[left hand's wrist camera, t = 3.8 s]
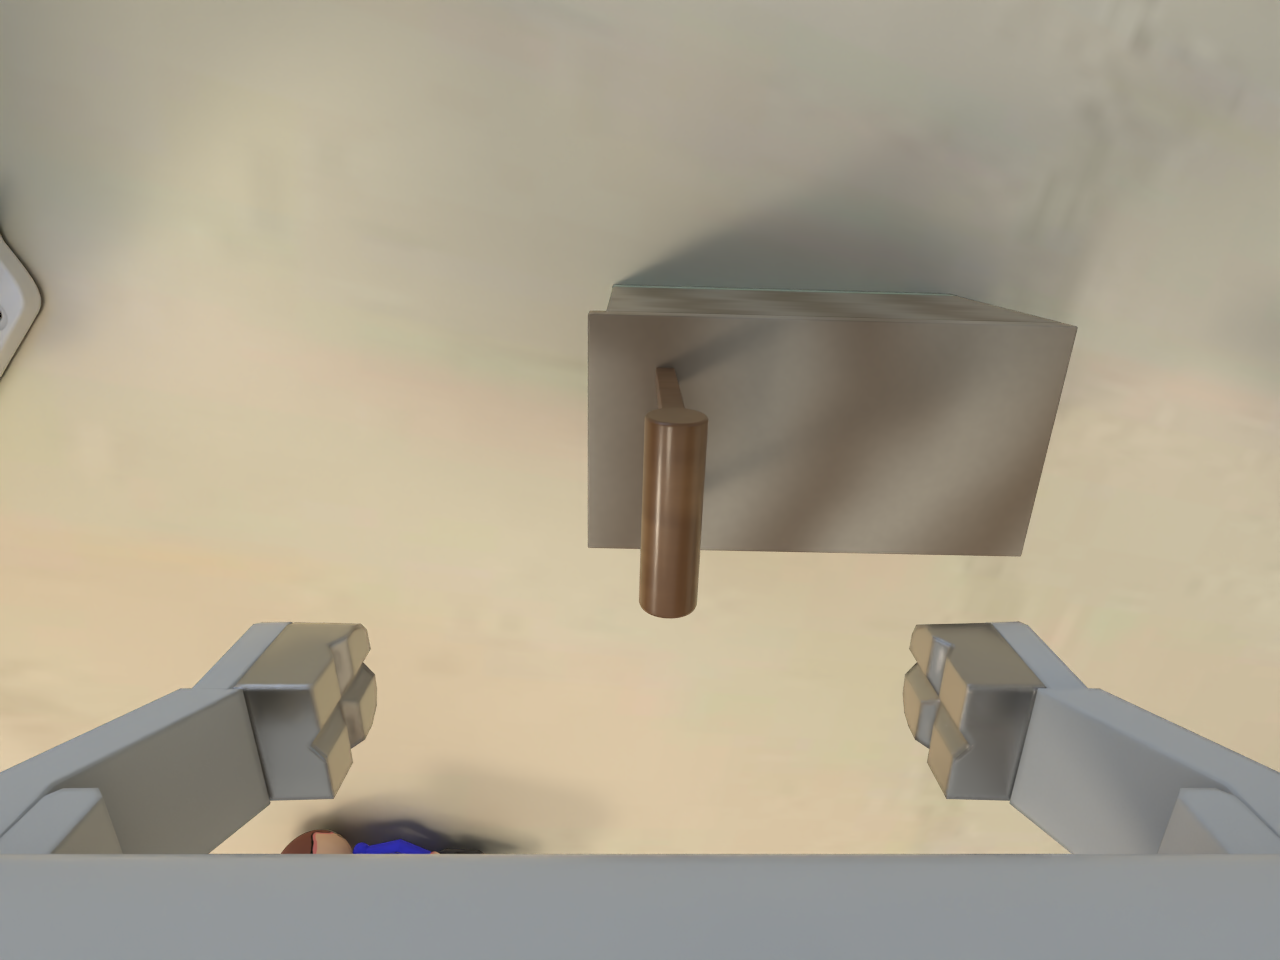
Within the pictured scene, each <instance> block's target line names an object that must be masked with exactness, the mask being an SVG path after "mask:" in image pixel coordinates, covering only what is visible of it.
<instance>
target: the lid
mask: <svg viewBox="0 0 1280 960" xmlns="http://www.w3.org/2000/svg"><path fill="white" fill-rule="evenodd" d="M1076 332H1077V327H1076V326H1073V325H1069V324H1065V323H1041V322H1003V321H965V320H927V319H889V318H851V317H813V316H775V315H737V314H699V313H661V312H623V311H590V312H589V314H588V548H625V549H641V554H640V587H639V603H640V605H641V607H642V609H643V610H644V611H646V612H647V613H649V614H651V615H653V616H657V617H661V618H679V617H683V616H686V615H688V614H690V613H691V612H693V610H694V609H695V607H696V605H697V592H698V577H699V561H700V550H725V551H775V552H825V553H875V554H925V555H975V556H1021V554H1022V550H1023V546H1024V542H1025V538H1026V534H1027V529H1028V525H1029V521H1030V517H1031V513H1032V509H1033V505H1034V501H1035V497H1036V493H1037V489H1038V485H1039V481H1040V477H1041V473H1042V469H1043V465H1044V461H1045V457H1046V453H1047V449H1048V445H1049V441H1050V437H1051V433H1052V429H1053V425H1054V421H1055V417H1056V412H1057V408H1058V404H1059V400H1060V396H1061V392H1062V388H1063V384H1064V380H1065V376H1066V372H1067V368H1068V364H1069V360H1070V356H1071V352H1072V348H1073V344H1074V340H1075V336H1076Z"/></svg>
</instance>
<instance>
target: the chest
mask: <svg viewBox="0 0 1280 960" xmlns="http://www.w3.org/2000/svg"><path fill="white" fill-rule="evenodd" d="M607 311H623V312H661V313H699V314H737V315H775V316H813V317H851V318H889V319H927V320H965V321H1003V322H1041V323H1061V322H1057V321H1053V320H1049V319H1045V318H1041V317H1037V316H1033V315H1029V314H1025V313H1021V312H1017V311H1014V310H1010V309H1006V308H1002V307H998V306H994V305H990V304H986V303H982V302H978V301H974V300H970V299H966V298H962V297H958V296H956V295H952V294H934V293H897V292H860V291H823V290H786V289H749V288H712V287H675V286H637V285H613V289H612V293H611V296H610V300H609V304H608V308H607Z"/></svg>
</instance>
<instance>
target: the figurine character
mask: <svg viewBox="0 0 1280 960" xmlns="http://www.w3.org/2000/svg"><path fill="white" fill-rule="evenodd" d="M395 852H399V853H395ZM439 853H440V854H484V853H482V852H481V851H476V850H461V849H445V850H442V851H440V852H435V851H433V852H431V851H429V850H426V849H424V848H421V847H419V846H417V845H414V844H412V843H409V842H407V841H404V840H402V839H399V840H394V841H389V842H384V843H380V844H375V845H370V846H368V845H367V844H366V843H363V842H361V843H358V844H357V845H356V846H355V847H354V849H353V852H352V849H351V847H350V845H349V843H348V842H347V841H346V840H345V838H343V837H342V836H341V835H339V834H338V833H336V832H333V831H330V830H313V831H310V832H307V833H304V834H302V835H300V836H299V837H297V838H296V839H294V840H293V841H292V842H291V843H290V844H289V845H288V846H287V847H286V848H285V849H284V850H283V852H282V853H281V854H439Z"/></svg>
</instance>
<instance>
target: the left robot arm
mask: <svg viewBox="0 0 1280 960" xmlns="http://www.w3.org/2000/svg"><path fill="white" fill-rule="evenodd" d="M40 307H41V296H40V293H39V290H38V288H37V286H36V284H35V282H34V280H33V279H32V277H31V276H30V274H29V273H28V272H27V270H26V269H25V267H24V266H23V265H22V263H21V262H20V261H19V259H18V258H17V257H16V256H15V254H14V253H13V252H12V251H11V249H10V248H9V247H8V246H7V244H6V243H5V242H4V240H3V238H2V236H1V234H0V312H1V314H2V318H0V377H1V376H2V374H3V372H4V371H5V369H6V367H7V366H8V364H9V362H10V360H11V359H12V357H13V355H14V354H15V352H16V350H17V348H18V347H19V345H20V343H21V342H22V340H23V338H24V336H25V335H26V333H27V331H28V330H29V328H30V326H31V325H32V323H33V321H34V319H35V318H36V316H37V314H38V312H39V310H40ZM370 649H371V648H370V643H369V638H368V633H367V629H366V628H365V627H364V626H363V625H362V624H355V623H305V622H295V623H292V622H261V623H257V624H253V625H252V626H251V627H250V628H249V629H248V630H247V631H246V632H245V633H244V634H243V636H242V637H241V638H240V639H239V640H238V641H237V642H236V643H235V644H234V645H233V646H232V647H231V648H230V649H229V650H228V651H227V652H226V653H225V654H224V655H223V656H222V658H221V659H220V660H219V661H218V662H217V663H216V664H215V665H214V666H213V667H212V668H211V669H210V670H209V671H208V672H207V673H206V674H205V675H204V676H203V677H202V678H201V680H200V681H199V682H198V683H197V684H196V685H195V686H194V687H193V688H192V689H179V690H177V691H174V692H172V693H170V694H168V695H166V696H164V697H161V698H159V699H157V700H155V701H153V702H151V703H149V704H146V705H144V706H142V707H140V708H138V709H136V710H134V711H131V712H129V713H127V714H125V715H123V716H121V717H118V718H116V719H114V720H112V721H110V722H108V723H106V724H103V725H101V726H99V727H97V728H95V729H93V730H91V731H88V732H86V733H84V734H82V735H80V736H78V737H75V738H73V739H71V740H69V741H67V742H65V743H63V744H60V745H58V746H56V747H54V748H52V749H50V750H48V751H45V752H43V753H41V754H39V755H37V756H35V757H33V758H30V759H28V760H26V761H24V762H22V763H20V764H17V765H15V766H13V767H11V768H9V769H7V770H5V771H2V772H0V960H1280V773H1279V772H1277V771H1275V770H1273V769H1271V768H1269V767H1266V766H1264V765H1262V764H1260V763H1258V762H1256V761H1254V760H1251V759H1249V758H1247V757H1245V756H1243V755H1241V754H1239V753H1236V752H1234V751H1232V750H1230V749H1228V748H1226V747H1224V746H1221V745H1219V744H1217V743H1215V742H1213V741H1211V740H1209V739H1206V738H1204V737H1202V736H1200V735H1198V734H1196V733H1194V732H1191V731H1189V730H1187V729H1185V728H1183V727H1181V726H1179V725H1176V724H1174V723H1172V722H1170V721H1168V720H1166V719H1164V718H1161V717H1159V716H1157V715H1155V714H1153V713H1151V712H1149V711H1146V710H1144V709H1142V708H1140V707H1138V706H1136V705H1134V704H1131V703H1129V702H1127V701H1125V700H1123V699H1121V698H1119V697H1116V696H1114V695H1112V694H1110V693H1108V692H1106V691H1104V690H1101V689H1088V688H1087V687H1086V686H1085V685H1084V684H1083V683H1082V682H1081V681H1080V679H1079V678H1078V677H1077V676H1076V675H1075V674H1074V673H1073V672H1072V671H1071V670H1070V669H1069V668H1068V667H1067V666H1066V665H1065V664H1064V663H1063V662H1062V661H1061V660H1060V658H1059V657H1058V656H1057V655H1056V654H1055V653H1054V652H1053V651H1052V650H1051V649H1050V648H1049V647H1048V646H1047V645H1046V644H1045V643H1044V642H1043V641H1042V640H1041V639H1040V637H1039V636H1038V635H1037V634H1036V633H1035V632H1034V631H1033V630H1032V629H1031V628H1030V627H1029V626H1028V625H1026V624H1024V623H1021V622H994V623H969V624H929V625H916V627H915V629H914V631H913V633H912V637H911V642H910V648H909V649H910V651H911V653H912V654H913V656H914V658H915V659H916V661H917V663H916V664H915V665H914V666H913V667H912V668H911V669H910V670H909V671H908V672H907V673H906V674H905V680H904V688H903V702H904V713H905V716H906V720H907V723H908V726H909V728H910V730H911V732H912V734H913V736H914V738H915V740H917V741H918V742H920V743H921V744H923V745H924V746H926V747H927V748H929V754H928V759H927V763H928V765H929V767H930V769H931V771H932V773H933V774H934V776H935V778H936V780H937V782H938V784H939V786H940V788H941V789H942V791H943V793H944V795H945V797H946V799H972V800H1008V801H1010V804H1011V805H1012V806H1013V807H1015V808H1016V809H1017V810H1018V811H1020V812H1021V813H1022V814H1023V815H1024V816H1026V817H1027V818H1028V819H1029V820H1031V821H1032V822H1033V823H1034V824H1036V825H1037V826H1038V827H1039V828H1041V829H1042V830H1043V831H1044V832H1046V833H1047V834H1048V835H1049V836H1051V837H1052V838H1053V839H1054V840H1055V841H1057V842H1058V843H1059V844H1060V845H1062V846H1063V847H1064V848H1065V849H1067V850H1068V851H1069V852H1070V853H1072V854H209V853H210V852H211V851H212V850H214V849H215V848H216V847H217V846H219V845H220V844H221V843H222V842H224V841H225V840H226V839H227V838H228V837H230V836H231V835H232V834H233V833H235V832H236V831H237V830H238V829H240V828H241V827H242V826H243V825H245V824H246V823H247V822H248V821H250V820H251V819H252V818H253V817H255V816H256V815H257V814H258V813H260V812H261V811H262V810H263V809H265V808H266V807H267V806H268V805H269V804H270V801H272V800H307V799H334V797H335V795H336V793H337V791H338V790H339V788H340V786H341V784H342V782H343V780H344V778H345V776H346V775H347V773H348V771H349V769H350V767H351V765H352V763H353V759H352V754H351V748H353V747H354V746H356V745H357V744H359V743H360V742H362V741H363V740H365V738H366V736H367V734H368V732H369V730H370V728H371V726H372V724H373V719H374V715H375V710H376V706H377V686H376V679H375V674H374V673H373V672H372V671H371V670H370V669H369V668H368V667H367V666H366V665H365V664H364V663H363V661H364V659H365V658H366V656H367V654H368V653H369V651H370Z"/></svg>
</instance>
